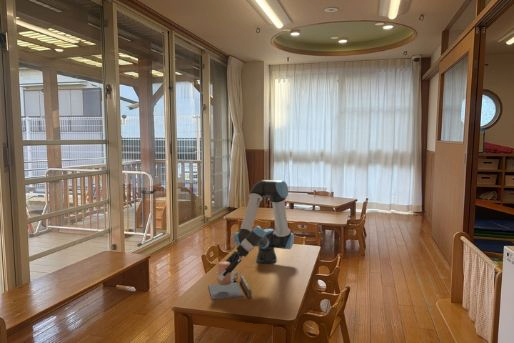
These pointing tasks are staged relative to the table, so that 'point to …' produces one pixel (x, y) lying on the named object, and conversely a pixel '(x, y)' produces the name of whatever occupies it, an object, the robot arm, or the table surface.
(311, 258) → the table surface
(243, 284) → the wooden plank
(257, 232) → the robot arm
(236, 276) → the turtle
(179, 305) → the table surface
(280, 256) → the table surface
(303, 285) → the table surface
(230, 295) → the mat
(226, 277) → the pink rounded cylinder
